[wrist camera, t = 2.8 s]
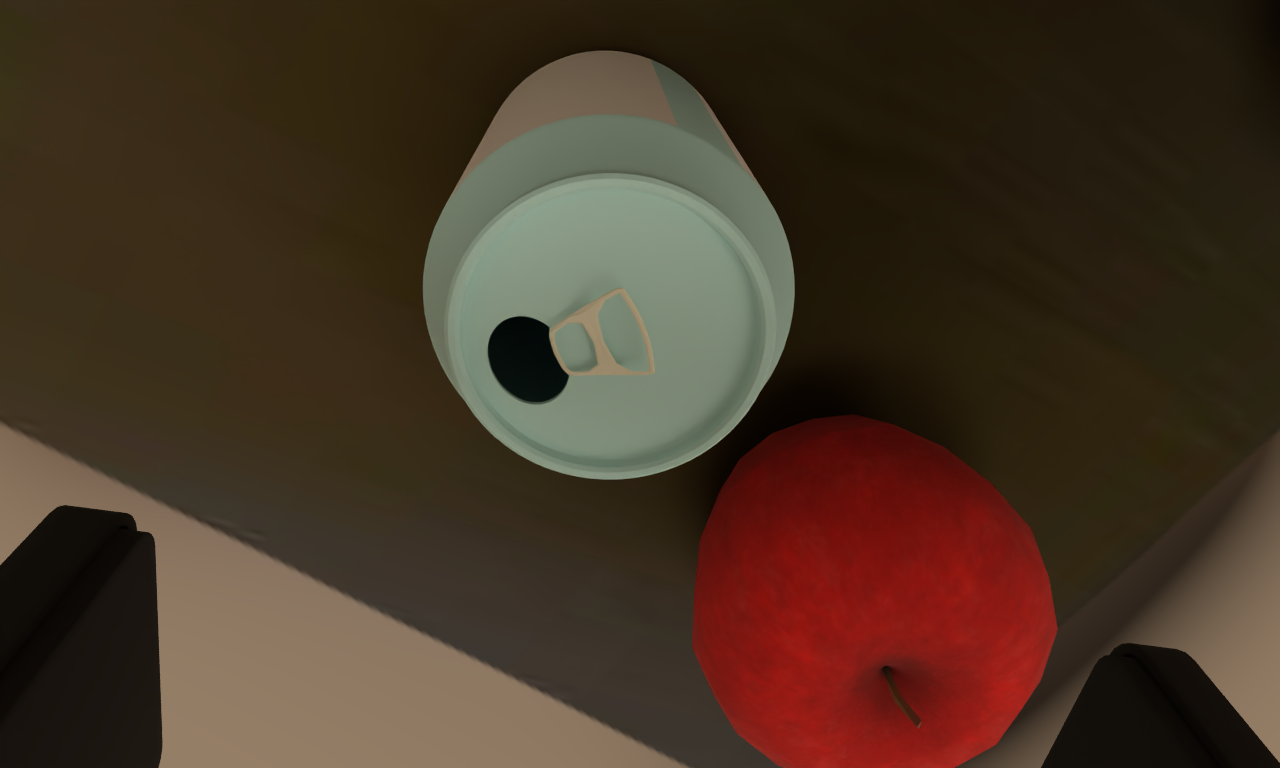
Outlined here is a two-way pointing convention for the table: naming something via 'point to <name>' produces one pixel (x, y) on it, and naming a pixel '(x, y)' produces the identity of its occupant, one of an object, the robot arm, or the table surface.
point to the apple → (868, 600)
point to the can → (608, 272)
